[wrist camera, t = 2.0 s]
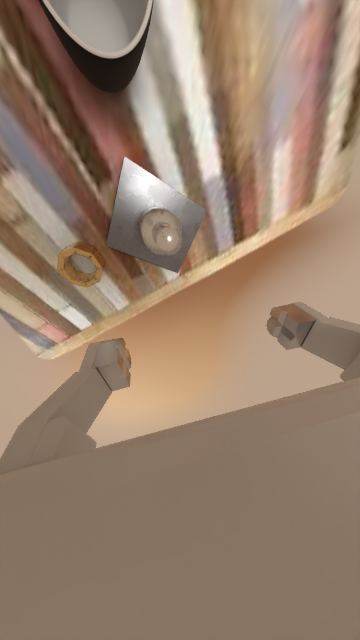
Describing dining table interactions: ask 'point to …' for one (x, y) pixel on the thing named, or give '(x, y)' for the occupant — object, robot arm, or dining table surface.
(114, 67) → the mug
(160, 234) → the grey plate with knob
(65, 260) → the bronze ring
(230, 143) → the dining table surface
